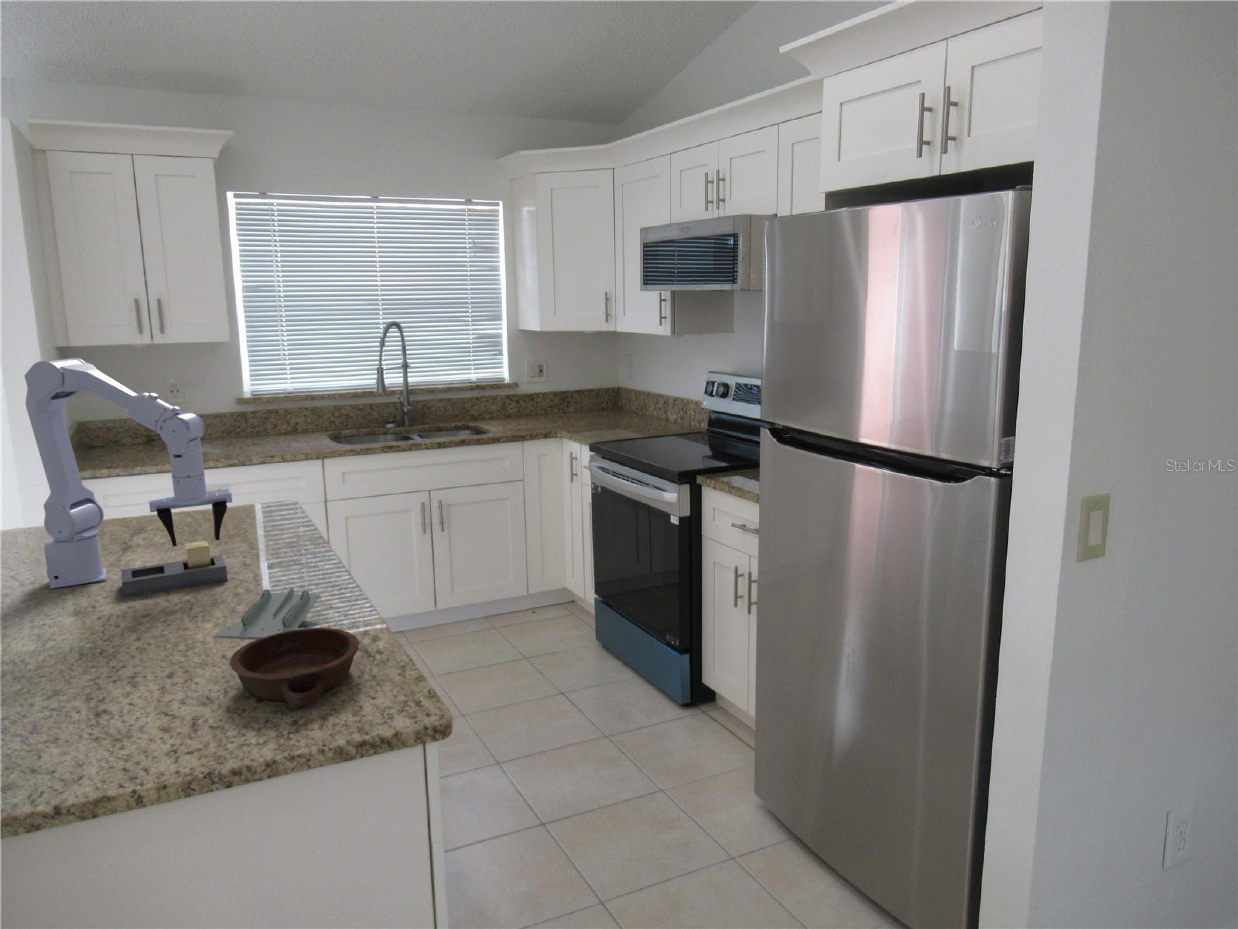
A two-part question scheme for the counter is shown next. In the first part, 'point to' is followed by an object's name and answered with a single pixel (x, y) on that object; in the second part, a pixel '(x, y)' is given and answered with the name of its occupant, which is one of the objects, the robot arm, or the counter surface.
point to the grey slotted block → (171, 576)
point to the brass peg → (197, 555)
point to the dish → (295, 664)
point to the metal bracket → (271, 615)
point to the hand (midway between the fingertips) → (196, 542)
